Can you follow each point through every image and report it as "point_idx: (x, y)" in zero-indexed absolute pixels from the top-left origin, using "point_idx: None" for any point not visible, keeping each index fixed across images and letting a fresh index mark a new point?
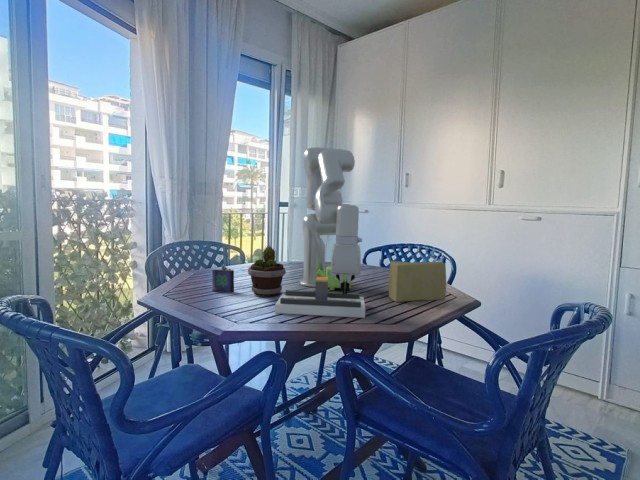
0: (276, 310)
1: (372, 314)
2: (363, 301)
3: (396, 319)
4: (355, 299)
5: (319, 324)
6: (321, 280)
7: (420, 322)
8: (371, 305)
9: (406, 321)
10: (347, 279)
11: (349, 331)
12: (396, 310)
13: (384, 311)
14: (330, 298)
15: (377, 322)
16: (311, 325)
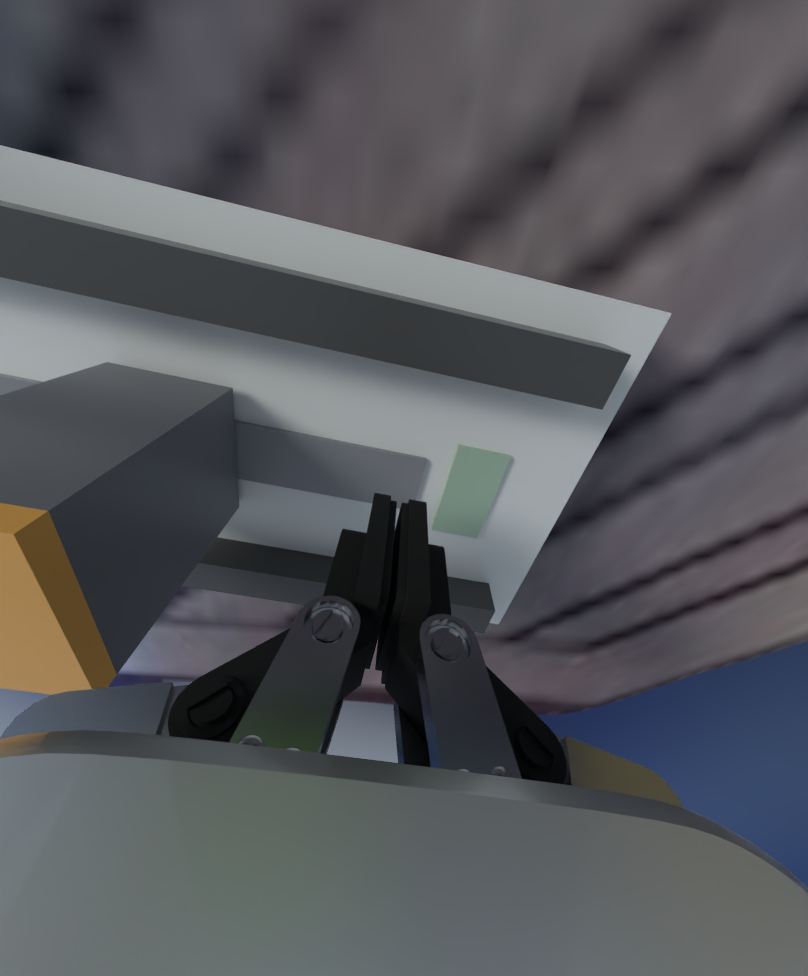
0: None
1: (561, 536)
2: (572, 479)
3: (646, 607)
4: (526, 413)
5: (247, 635)
6: (8, 681)
7: (732, 642)
8: (698, 318)
9: (674, 630)
10: (399, 735)
11: (368, 689)
12: (795, 470)
13: (684, 487)
14: (267, 367)
15: (521, 632)
16: (214, 641)
